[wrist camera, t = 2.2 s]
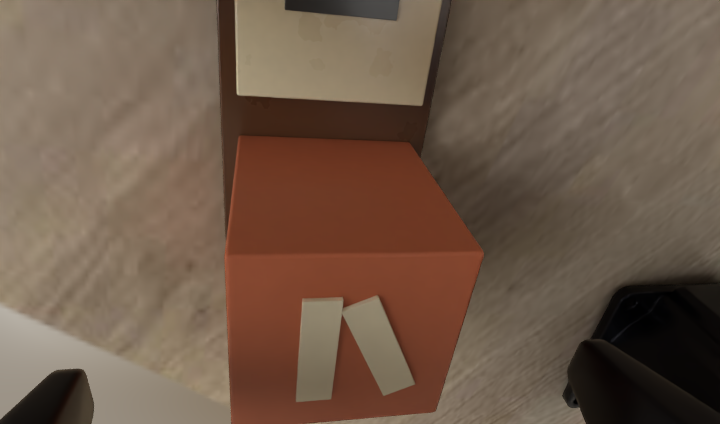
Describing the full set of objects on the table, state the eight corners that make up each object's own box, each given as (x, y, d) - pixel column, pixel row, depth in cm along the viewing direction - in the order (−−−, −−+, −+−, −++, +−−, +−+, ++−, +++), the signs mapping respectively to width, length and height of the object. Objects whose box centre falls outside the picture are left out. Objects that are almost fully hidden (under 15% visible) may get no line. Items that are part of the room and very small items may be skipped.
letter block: (386, 272, 14) (438, 417, 10) (241, 275, 14) (231, 436, 9) (409, 141, 12) (489, 256, 8) (238, 133, 11) (223, 259, 7)
